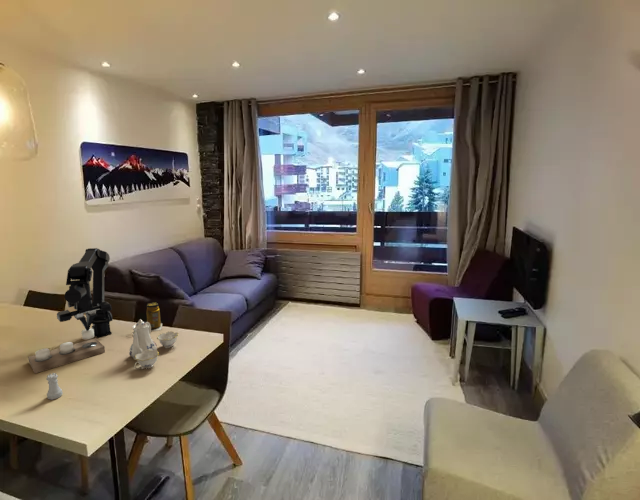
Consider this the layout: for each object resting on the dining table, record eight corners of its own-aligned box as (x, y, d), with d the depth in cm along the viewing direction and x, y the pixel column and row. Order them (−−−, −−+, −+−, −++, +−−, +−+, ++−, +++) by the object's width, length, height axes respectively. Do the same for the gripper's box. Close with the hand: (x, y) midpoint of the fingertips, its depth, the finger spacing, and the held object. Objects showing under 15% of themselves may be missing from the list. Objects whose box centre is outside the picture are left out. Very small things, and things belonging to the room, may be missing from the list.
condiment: (162, 323, 185) (160, 301, 183) (161, 330, 177) (159, 306, 175) (146, 325, 182) (144, 302, 180) (144, 332, 175) (142, 308, 172)
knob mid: (72, 347, 153) (71, 341, 152) (74, 351, 150) (74, 344, 149) (59, 351, 150) (58, 344, 149) (62, 354, 147) (61, 347, 146)
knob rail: (96, 343, 163) (95, 337, 162) (105, 352, 155) (104, 346, 154) (29, 362, 146) (28, 356, 145) (34, 373, 138) (33, 367, 137)
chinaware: (156, 377, 139) (157, 336, 135) (112, 373, 138) (111, 333, 134) (181, 344, 166) (182, 309, 163) (143, 341, 165) (144, 306, 162)
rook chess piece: (52, 392, 125) (49, 371, 124) (66, 392, 126) (62, 371, 124) (43, 400, 121) (40, 378, 120) (58, 399, 121) (54, 378, 120)
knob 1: (48, 354, 147) (47, 347, 146) (51, 357, 144) (50, 350, 143) (35, 358, 144) (34, 351, 143) (37, 361, 141) (36, 354, 140)
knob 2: (92, 334, 158) (91, 327, 157) (95, 337, 155) (94, 330, 154) (81, 337, 155) (80, 330, 154) (83, 340, 152) (83, 333, 151)
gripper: (101, 286, 163) (105, 319, 166) (51, 296, 150) (56, 331, 153) (110, 291, 155) (114, 325, 159) (57, 302, 142) (63, 339, 145)
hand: (87, 330), depth 154 cm, fingers closed
